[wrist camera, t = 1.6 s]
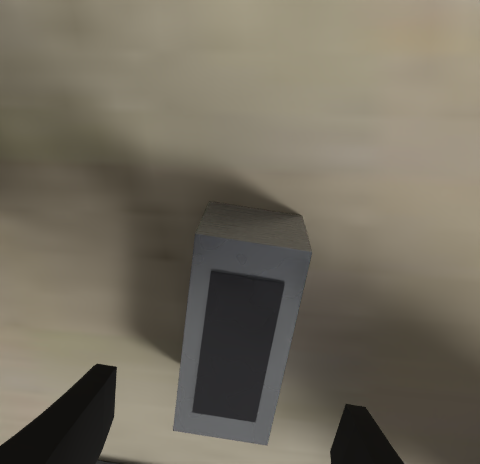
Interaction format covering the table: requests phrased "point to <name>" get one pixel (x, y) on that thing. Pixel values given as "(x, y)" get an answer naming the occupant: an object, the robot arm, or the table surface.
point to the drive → (240, 320)
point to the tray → (102, 463)
